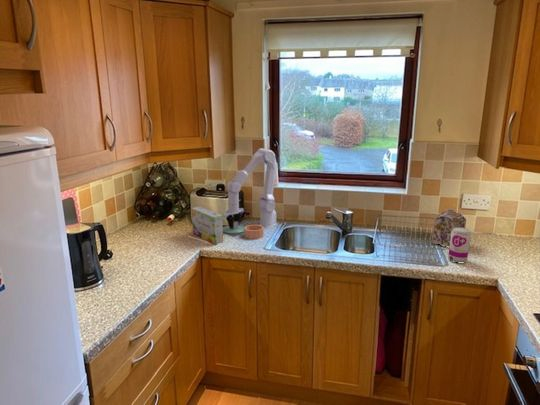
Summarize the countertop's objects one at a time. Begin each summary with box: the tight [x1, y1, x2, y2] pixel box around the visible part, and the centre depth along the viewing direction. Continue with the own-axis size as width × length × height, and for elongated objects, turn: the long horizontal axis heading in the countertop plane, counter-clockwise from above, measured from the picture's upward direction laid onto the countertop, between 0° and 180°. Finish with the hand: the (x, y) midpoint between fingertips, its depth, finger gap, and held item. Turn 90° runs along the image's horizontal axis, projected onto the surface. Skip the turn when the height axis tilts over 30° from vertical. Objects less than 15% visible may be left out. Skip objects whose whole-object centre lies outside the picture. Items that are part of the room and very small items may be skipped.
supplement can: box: [447, 227, 472, 263], centre depth 190 cm, size 8×8×15 cm
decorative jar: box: [431, 209, 467, 246], centre depth 211 cm, size 12×12×18 cm
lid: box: [223, 221, 245, 234], centre depth 228 cm, size 13×13×5 cm
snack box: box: [191, 206, 224, 246], centre depth 214 cm, size 21×6×15 cm, turn 42°
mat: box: [223, 232, 244, 238], centre depth 229 cm, size 16×15×1 cm
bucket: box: [243, 224, 265, 240], centre depth 220 cm, size 10×10×5 cm
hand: (233, 227), depth 228 cm, fingers closed on lid, 3 cm apart
